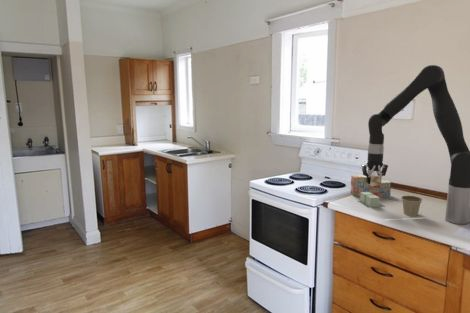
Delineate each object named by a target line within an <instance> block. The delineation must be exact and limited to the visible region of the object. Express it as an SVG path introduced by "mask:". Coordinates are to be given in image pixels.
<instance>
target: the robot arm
mask: <svg viewBox="0 0 470 313" xmlns="http://www.w3.org/2000/svg"><path fill="white" fill-rule="evenodd" d="M448 88H449V87H448V84H447V81H446V76H445V72H444V69H443V68H442V67H441V66H439V65H436V64H431V65H430V64H429V65H428V66H425V67H424V68H423V69H421V71H420V72H419V73H418V74H417V76H416V77H415V78H414V79H413V80H412V81H411V82H410V83H409V84H408V85H407V86H406V87H405V88H404V89H403V90H401V91H400V92H399V93H398V94H397V95H395V96H394V97H393V98H392V99H391V100H389V101H388V102H387V103H386V104H385V105H384V106H383V109H382V110H380V111H379V112H378V113H375V114H372V115H371V116H370V117H369V118H368V125H367V126H368V127H367V128H368V133H369V139H368V148H367V163H366V164H361V172H362V175H364V176H366V182H367V184H370V179H371V175H373V173H374V172H376V175H379V176H381V178H382V177H384V176H386V174H387V171H388V167H389V165H388V164H386V163H383V161H384V150H385V146H384V144H385V134H384V133H383V127H384V126H385V125H387V124H388V123H389V122H390V121H392V119H393V118H394V117H395V116H397V114H399V113H400V112H401V111H403V110H404V109H405V108H406V107H407V106H408V105H409V104H410V103H412V101H413V100H414V99H415V98H416V97H418V96H419V95H420V94H421V93H422V92H424V91H426V90H428V93H429V95H430V98H431V104H432V112H433V116H434V120H435V123H436V125H437V127H438V130H439V131H440V132H439V133H440V134H441V136H442V139H444V141H445V144H446V146H447V149H448V154H449V158H450V159H449V160H450V174H449V178H448V185H447V187H448V188H447V196H446V197H447V198H446V208H445V215H444V219H445V221H447V222H449V223H452V224H456V225H468V224H469V223H470V149H469V147H468V145H467V143H466V140H465V137H464V130H463V125H462V122H461V121H462V120H461V118H460V115H459V112H458V109H457V107H456V105H455V102H454V100H453V98H452V97H451V94H450V92H449V89H448Z"/></svg>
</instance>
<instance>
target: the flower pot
mask: <svg viewBox="0 0 470 313" xmlns="http://www.w3.org/2000/svg"><path fill="white" fill-rule="evenodd" d="M400 198H401V201H402V209H403V210H402V211H403V214H404V215H406V216H411V217H417V216H418V215H419V211H420V206H421V203H422V202H423V198H421V197H419V196H415V195H403V196H401V197H400Z"/></svg>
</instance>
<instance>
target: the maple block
mask: <svg viewBox="0 0 470 313" xmlns="http://www.w3.org/2000/svg"><path fill="white" fill-rule="evenodd" d="M381 180H382V177H381V176H379V175H377V173H376V174H375V173H374V174H371V179H370V184H368V185H370V186H380V185H381Z"/></svg>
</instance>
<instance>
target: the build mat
mask: <svg viewBox="0 0 470 313" xmlns="http://www.w3.org/2000/svg"><path fill="white" fill-rule="evenodd" d="M357 202H359V203H360V204H362V205H363V206H365V207H366V208H368V209H369V208H372V207H369V206H368V205H366V203H363V202H361V201H360V200H357ZM378 208H386V205H383V204H382V203H381V202H379V207H378Z"/></svg>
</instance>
